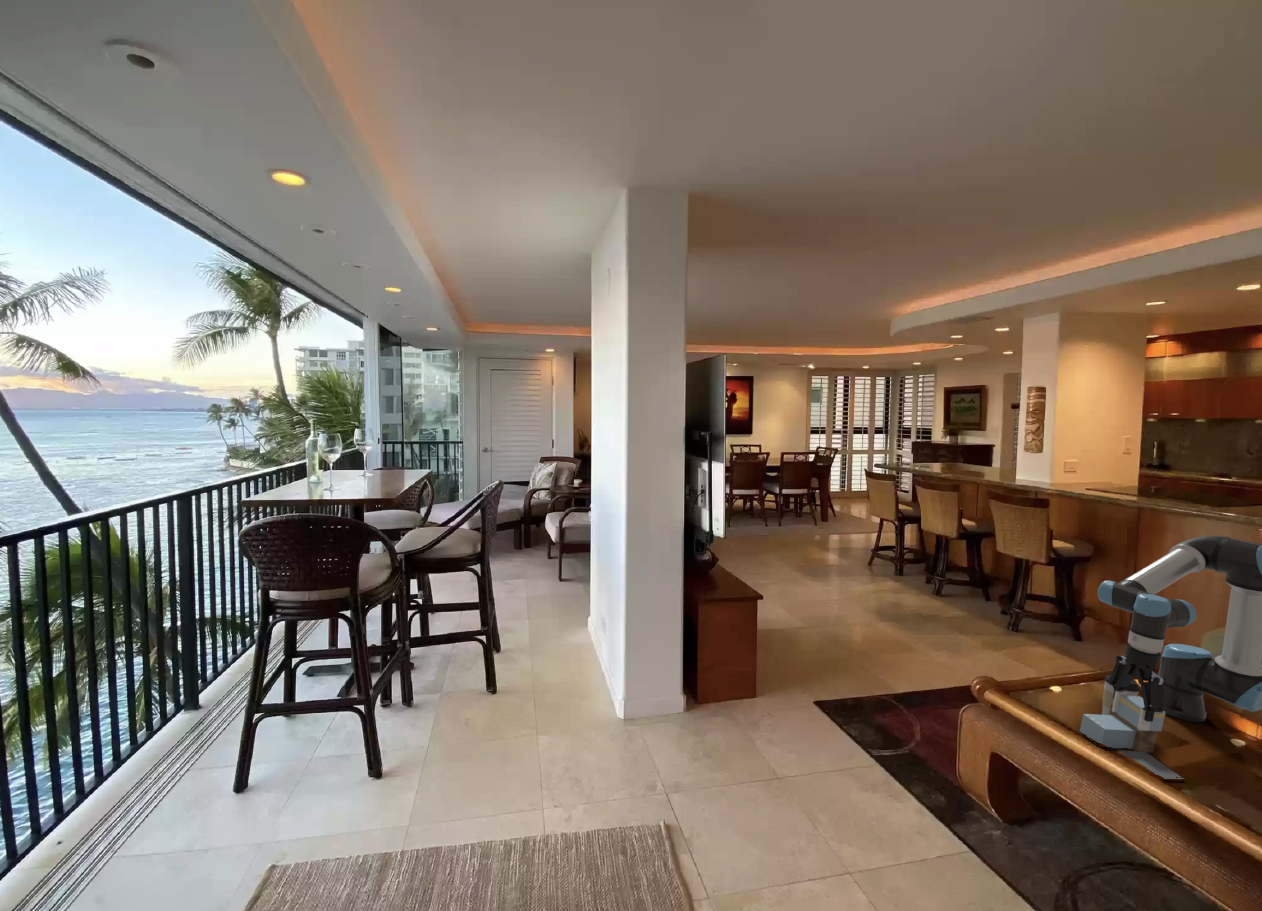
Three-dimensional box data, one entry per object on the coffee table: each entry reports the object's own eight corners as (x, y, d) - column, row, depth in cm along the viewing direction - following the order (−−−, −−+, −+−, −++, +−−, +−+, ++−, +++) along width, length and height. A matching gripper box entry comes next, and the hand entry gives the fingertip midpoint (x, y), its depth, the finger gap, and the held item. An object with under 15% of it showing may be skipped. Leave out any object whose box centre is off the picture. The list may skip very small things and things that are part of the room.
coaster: (1145, 753, 171) (1145, 751, 171) (1184, 781, 160) (1184, 779, 159) (1106, 751, 171) (1107, 749, 171) (1143, 779, 159) (1144, 777, 159)
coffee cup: (1139, 729, 184) (1148, 686, 182) (1108, 724, 186) (1116, 681, 184) (1121, 714, 193) (1130, 673, 191) (1091, 709, 195) (1099, 668, 193)
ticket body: (1122, 733, 181) (1125, 715, 181) (1145, 749, 173) (1149, 731, 173) (1079, 731, 181) (1083, 713, 180) (1101, 747, 173) (1104, 729, 172)
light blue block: (1136, 715, 171) (1140, 696, 170) (1161, 731, 163) (1165, 712, 163) (1116, 713, 171) (1120, 695, 170) (1140, 730, 163) (1145, 710, 162)
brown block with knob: (1120, 730, 183) (1127, 700, 182) (1152, 753, 172) (1159, 720, 171) (1105, 729, 183) (1112, 699, 181) (1137, 752, 172) (1143, 719, 170)
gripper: (1101, 631, 174) (1088, 700, 177) (1164, 665, 154) (1149, 742, 157) (1125, 632, 174) (1112, 701, 177) (1192, 667, 154) (1176, 744, 157)
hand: (1129, 720), depth 167 cm, fingers closed on light blue block, 8 cm apart
